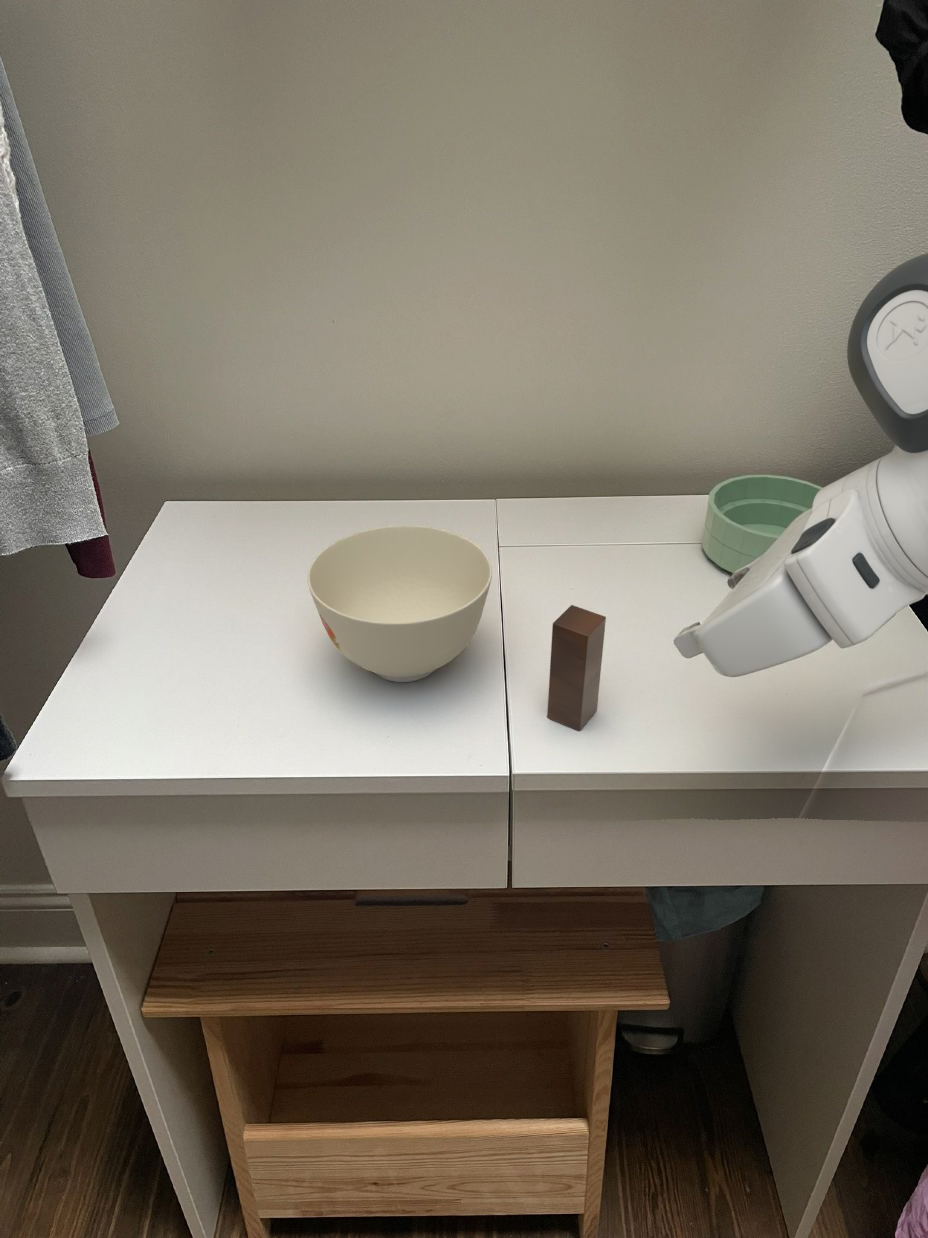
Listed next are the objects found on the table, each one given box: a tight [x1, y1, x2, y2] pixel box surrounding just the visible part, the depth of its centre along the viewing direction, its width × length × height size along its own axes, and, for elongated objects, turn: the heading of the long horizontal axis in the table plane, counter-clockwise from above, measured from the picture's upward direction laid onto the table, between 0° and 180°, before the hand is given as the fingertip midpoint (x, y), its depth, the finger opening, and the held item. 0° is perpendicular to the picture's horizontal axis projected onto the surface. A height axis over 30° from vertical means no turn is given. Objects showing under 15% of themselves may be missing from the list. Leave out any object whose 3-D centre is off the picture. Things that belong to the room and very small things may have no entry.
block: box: [546, 604, 607, 732], centre depth 79 cm, size 3×3×10 cm
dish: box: [701, 474, 823, 574], centre depth 102 cm, size 14×14×6 cm
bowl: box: [306, 524, 493, 683], centre depth 85 cm, size 16×16×10 cm
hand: (709, 614), depth 70 cm, fingers open, 8 cm apart
